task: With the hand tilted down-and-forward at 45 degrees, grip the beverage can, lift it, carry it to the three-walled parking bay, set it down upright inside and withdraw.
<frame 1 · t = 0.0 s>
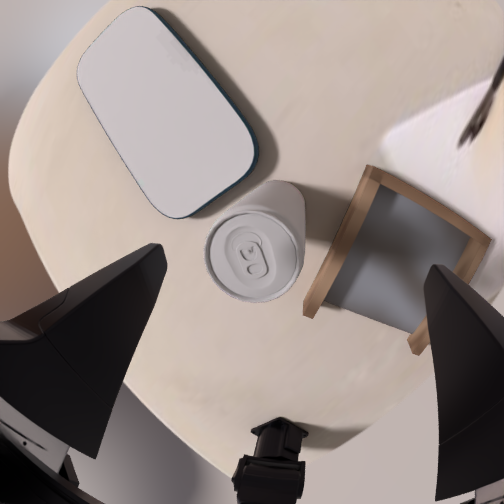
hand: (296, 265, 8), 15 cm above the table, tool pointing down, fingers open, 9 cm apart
external hard drive: (157, 99, 22), on the table
beverage can: (278, 206, 24), on the table
bay: (399, 266, 23), on the table
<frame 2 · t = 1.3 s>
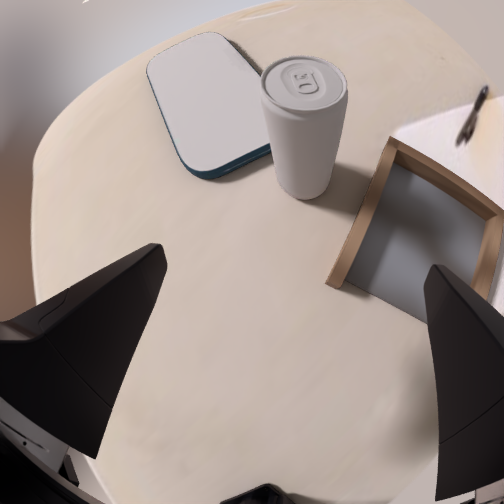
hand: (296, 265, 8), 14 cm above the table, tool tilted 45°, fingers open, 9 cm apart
external hard drive: (209, 94, 28), on the table
beverage can: (303, 178, 24), on the table
bay: (425, 246, 20), on the table
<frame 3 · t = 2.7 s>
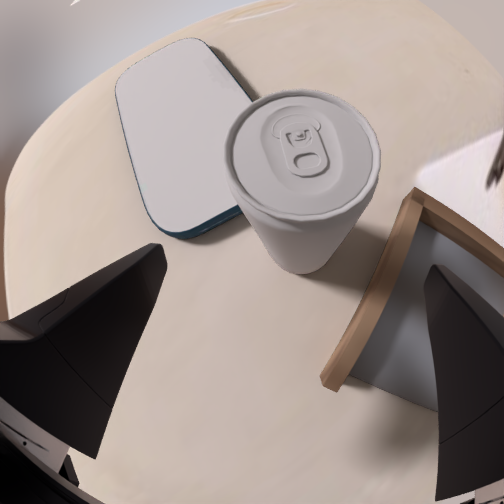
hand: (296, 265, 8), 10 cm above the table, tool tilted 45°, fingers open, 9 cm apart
external hard drive: (186, 118, 23), on the table
beverage can: (300, 240, 19), on the table
bay: (443, 325, 16), on the table
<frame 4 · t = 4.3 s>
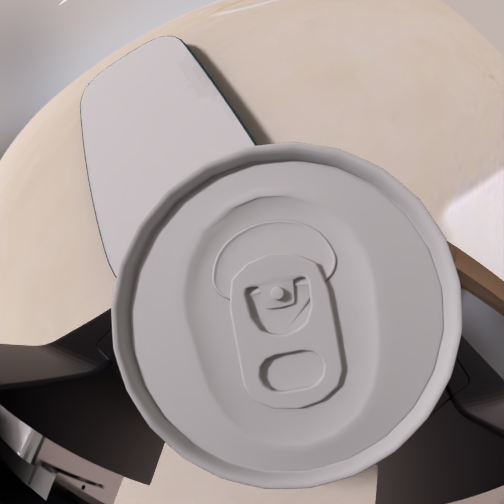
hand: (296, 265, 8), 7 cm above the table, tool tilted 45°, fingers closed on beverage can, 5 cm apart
external hard drive: (157, 136, 19), on the table
beverage can: (294, 306, 15), on the table, touching gripper
bay: (456, 395, 12), on the table
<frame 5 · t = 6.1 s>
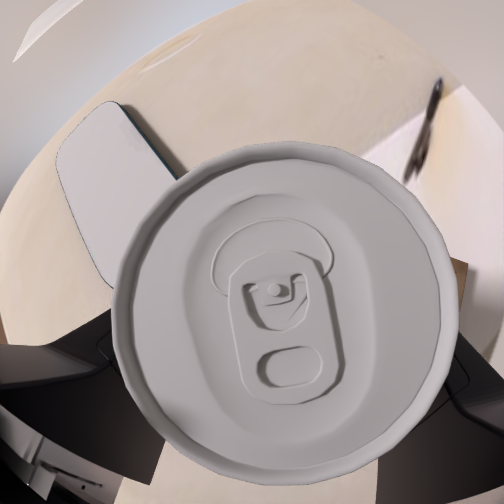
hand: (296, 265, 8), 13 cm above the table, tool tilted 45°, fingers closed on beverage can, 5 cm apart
external hard drive: (116, 183, 26), on the table
beverage can: (294, 305, 15), point 6 cm above the table, touching gripper
bay: (365, 329, 20), on the table
when the fingers open (8 cm above the table, at t = 8.2 s): beverage can stays where it is, resting on bay.
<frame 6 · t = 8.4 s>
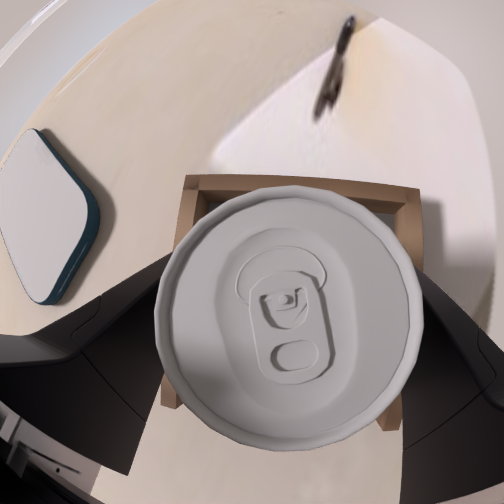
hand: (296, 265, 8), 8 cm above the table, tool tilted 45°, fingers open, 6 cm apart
external hard drive: (38, 203, 23), on the table
beverage can: (294, 308, 16), resting on bay
bay: (295, 304, 16), on the table
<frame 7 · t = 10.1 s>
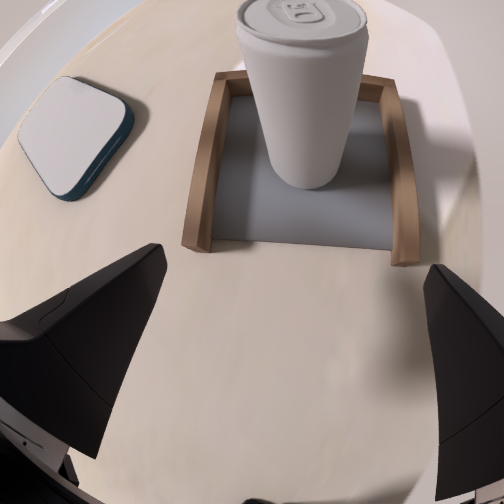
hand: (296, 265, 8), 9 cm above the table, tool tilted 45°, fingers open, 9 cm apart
external hard drive: (67, 129, 25), on the table
beverage can: (305, 162, 18), resting on bay
bay: (305, 160, 18), on the table
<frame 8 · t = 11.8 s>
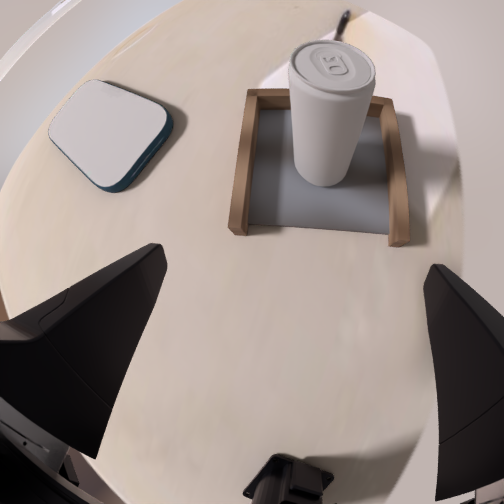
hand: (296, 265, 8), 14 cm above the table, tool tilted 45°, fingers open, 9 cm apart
external hard drive: (103, 129, 30), on the table
beverage can: (321, 165, 23), resting on bay
bay: (321, 164, 23), on the table
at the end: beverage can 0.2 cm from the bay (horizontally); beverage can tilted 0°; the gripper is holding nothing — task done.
